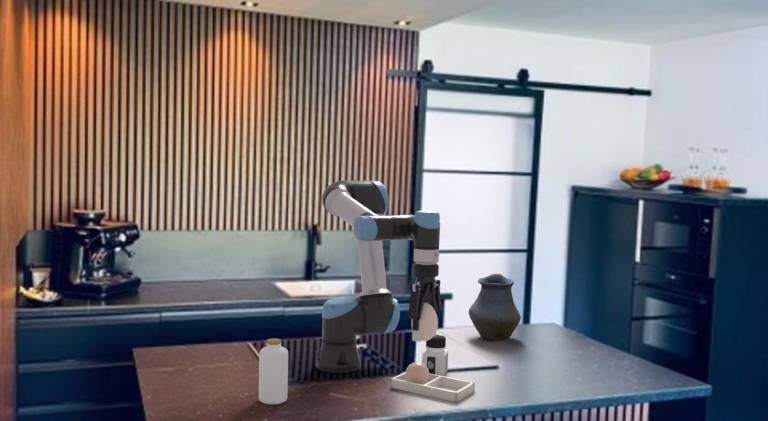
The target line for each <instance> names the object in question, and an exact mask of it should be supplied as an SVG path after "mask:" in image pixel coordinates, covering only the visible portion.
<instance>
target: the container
mask: <svg viewBox="0 0 768 421" xmlns="http://www.w3.org/2000/svg"><path fill="white" fill-rule="evenodd" d="M446 344H447V338H446V336H444V335H443V334H439V333H436V336H433V337H432V338H431V339H430V340H427V341H425V349H424V351H423V352H422V357H421V363H423V364H424V365H425V366H426V367H427V368H428V370H429V373H431V374H435V375H440V376H445V377H446V374H447V373H448V370H449V369H448V368H449V367H448V366H449V349H448V348H447V345H446Z"/></svg>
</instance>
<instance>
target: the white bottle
mask: <svg viewBox="0 0 768 421" xmlns="http://www.w3.org/2000/svg"><path fill="white" fill-rule="evenodd" d="M265 344H266V346H264V347H263V348H261V349H260V351H259V353H258V354H259V355H258V357H259V358H258V401H260V403H262V404H265V405H269V406H271V405H272V406H273V405H280V404H283V403H285V402H286V401H287V399H288V393H289V392H288V390H289V386H288V385H289V379H288V378H289V351H288V349H287V348H286V347H284V346H282V340H281V339H280V338H268V339H267V340H266V343H265Z"/></svg>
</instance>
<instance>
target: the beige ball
mask: <svg viewBox="0 0 768 421" xmlns="http://www.w3.org/2000/svg"><path fill="white" fill-rule="evenodd" d="M405 372H406V374H405V375H406V379H407V381H408V382H413V383H417V384H422V385H424V384H425V383H426V382H427V381H428V379H429V370H428V368H427V367H426V366H425V365H424V364H423V363H422V362H419V361H416V362H412V363H410V364H409V365H408V366H407V368H406V369H405Z"/></svg>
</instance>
